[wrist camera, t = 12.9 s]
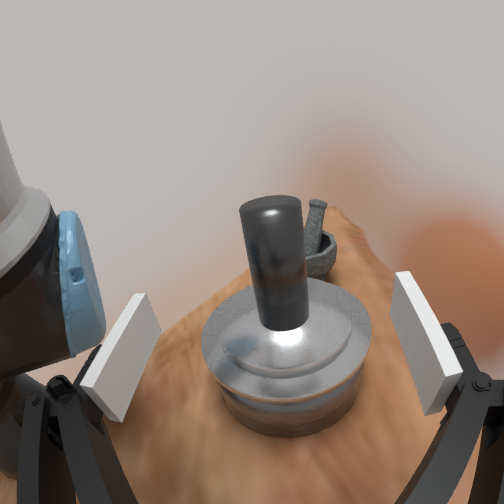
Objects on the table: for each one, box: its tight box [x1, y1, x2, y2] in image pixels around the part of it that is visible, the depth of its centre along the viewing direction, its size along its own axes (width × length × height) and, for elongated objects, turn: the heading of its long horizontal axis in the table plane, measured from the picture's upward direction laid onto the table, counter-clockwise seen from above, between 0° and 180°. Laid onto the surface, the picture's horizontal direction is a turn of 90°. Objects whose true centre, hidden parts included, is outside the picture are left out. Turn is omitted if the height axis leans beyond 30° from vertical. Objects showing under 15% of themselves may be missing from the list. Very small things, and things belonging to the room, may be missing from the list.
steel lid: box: [217, 195, 353, 379], centre depth 24 cm, size 12×12×12 cm
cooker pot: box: [201, 282, 371, 438], centre depth 28 cm, size 16×16×8 cm
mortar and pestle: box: [303, 199, 337, 282], centre depth 43 cm, size 11×9×12 cm
